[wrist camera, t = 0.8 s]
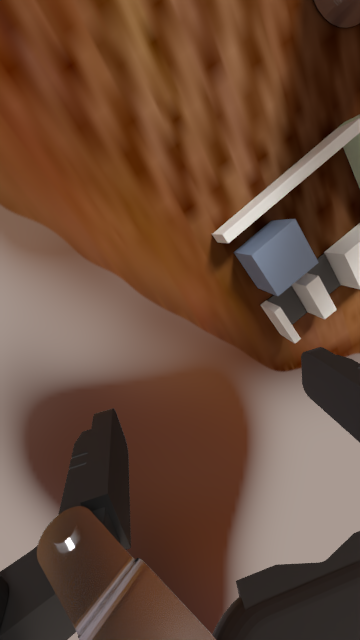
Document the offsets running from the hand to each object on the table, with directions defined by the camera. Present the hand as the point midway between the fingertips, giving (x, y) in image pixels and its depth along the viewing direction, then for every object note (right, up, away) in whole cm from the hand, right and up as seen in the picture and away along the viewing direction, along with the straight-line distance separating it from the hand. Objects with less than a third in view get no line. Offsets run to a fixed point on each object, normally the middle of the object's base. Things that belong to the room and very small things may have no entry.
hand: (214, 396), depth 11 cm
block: (+9, +11, +23) cm, 28 cm away
